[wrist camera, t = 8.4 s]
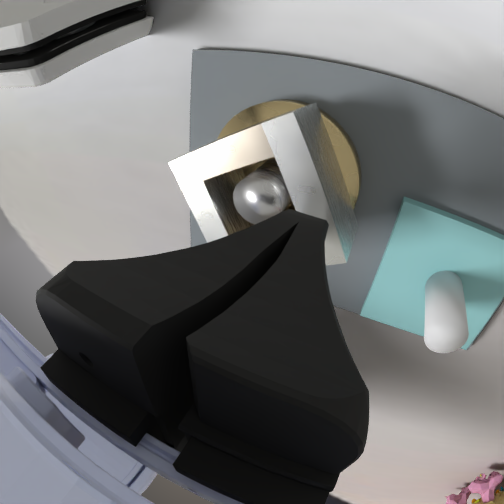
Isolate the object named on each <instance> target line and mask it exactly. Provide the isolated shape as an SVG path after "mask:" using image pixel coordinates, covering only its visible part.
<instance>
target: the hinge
mask: <svg viewBox="0 0 504 504" xmlns="http://www.w3.org/2000/svg"><path fill="white" fill-rule="evenodd" d="M145 4H146V0H0V88H23V87H36V86H41V85H43V84H46V83H49V82H51V81H52V80H54V79H56V78H58V77H59V76H61V75H63V74H65V73H67V72H68V71H70V70H72V69H74V68H76V67H78V66H80V65H82V64H84V63H86V62H88V61H90V60H92V59H94V58H96V57H98V56H100V55H102V54H104V53H106V52H109V51H111V50H113V49H115V48H118V47H120V46H122V45H125V44H127V43H129V42H132V41H134V40H137V39H139V38H142V37H145V36H147V35H148V34H149V32H150V30H151V28H152V23H153V18H154V17H150V16H146V11H140V10H132V8H135V7H138V6H141V5H145Z"/></svg>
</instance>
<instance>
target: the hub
mask: <svg viewBox="0 0 504 504" xmlns="http://www.w3.org/2000/svg"><path fill="white" fill-rule="evenodd" d="M307 105H310V104H308V103H305V102H301V101H297V100H288V99H281V100H272V101H267V102H263V103H260V104H257V105H254V106H251V107H249V108H247V109H245V110H243V111H241V112H239V113H238V114H237V115H235V116H234V117H233V118H232V119H231V120H230V121H229V122H228V123H227V124H226V125H225V127H224V128H223V129H222V131H221V133H220V134H219V136H218V138H217V139H219V138H222V137H224V136H226V135H229V134H231V133H234V132H236V131H239V130H241V129H244V128H246V127H249V126H251V125H254V124H256V123H259V122H262V121H264V120H267V119H270V118H272V117H275V116H278V115H281V114H283V113H286V112H289V111H292V110H295V109H298V108H301V107H304V106H307ZM318 109H319V108H318ZM319 111H320V114H321V117H322V119H323V122H324V124H325V127H326V130H327V132H328V135H329V138H330V140H331V143H332V146H333V149H334V152H335V154H336V157H337V160H338V163H339V166H340V169H341V172H342V175H343V178H344V181H345V184H346V187H347V190H348V193H349V197H350V200H351V203H352V206H353V210H354V207H355V204H356V202H357V199H358V196H359V193H360V187H361V165H360V160H359V157H358V153H357V151H356V148H355V146H354V144H353V142H352V140H351V138H350V137H349V135H348V134H347V132H346V131H345V130H344V128H343V127H342V126H341V125H340V124H339V123H338V122H337V121H336V120H335V119H334V118H333V117H331V116H330V115H329V114H327V113H326V112H324V111H323V110H321V109H319ZM241 168H242V170H243V172H244V174H245V178H244V179H243V180H241V181H240V182H239V183H238V184H237V185H236V187H235V189H234V192H233V201H234V205H235V208H236V209H237V211H238V213H239V214H240V215H241V216H242V217H243V218H244V219H245V220H246V221H248V222H250V223H252V224H257V223H259V222H262V221H264V220H266V219H268V218H270V217H272V216H275V215H277V214H279V213H281V212H283V211H285V210H288V209H291V210H294V211H296V210H295V207H294V204H293V202H292V199H291V197H290V194H289V192H288V189H287V186H286V184H285V181H284V179H283V176H282V174H281V171H280V169H279V166H278V164H277V161H276V159H275V157H271V158H268V159H265V160H262V161H259V162H256V163H253V164H250V165H247V166H244V167H241Z"/></svg>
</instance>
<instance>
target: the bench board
mask: <svg viewBox="0 0 504 504" xmlns="http://www.w3.org/2000/svg"><path fill="white" fill-rule="evenodd" d="M281 99H288V100H297V101H301V102H305V103H308V104H313V103H316V104H317V106H318V108H319V109H321V110H323V111H324V112H326V113H327V114H329V115H330V116H331V117H333V118H334V119H335V120H336V121H337V122H338V123H339V124H340V125H341V126H342V127H343V128H344V130H345V131H346V132H347V134H348V135H349V137H350V138H351V140H352V142H353V144H354V146H355V148H356V151H357V153H358V157H359V160H360V165H361V187H360V193H359V196H358V199H357V202H356V204H355V207H354V213H355V216H356V220H357V223H358V228H357V232H356V235H355V238H354V241H353V245H352V248H351V251H350V254H349V257H348V260H347V263H343V264H335V265H327V266H326V272H327V279H328V285H329V290H330V295H331V299H332V303H333V306H336V307H339V308H342V309H345V310H348V311H351V312H354V313H357V314H359V315H360V313H361V309H362V307H363V304H364V302H365V300H366V297H367V295H368V293H369V290H370V288H371V285H372V283H373V280H374V278H375V275H376V273H377V270H378V268H379V265H380V263H381V260H382V257H383V255H384V252H385V250H386V247H387V244H388V241H389V239H390V236H391V233H392V230H393V227H394V224H395V222H396V219H397V216H398V213H399V210H400V207H401V204H402V200H403V197H407V198H410V199H413V200H416V201H419V202H422V203H424V204H427V205H430V206H433V207H435V208H438V209H441V210H443V211H446V212H449V213H451V214H454V215H457V216H459V217H462V218H464V219H467V220H469V221H472V222H474V223H477V224H479V225H481V226H484V227H486V228H488V229H491V230H493V231H495V232H498V233H500V234H502V235H504V118H502V117H500V116H498V115H496V114H494V113H491V112H489V111H487V110H485V109H482V108H480V107H478V106H476V105H473V104H471V103H468V102H466V101H463V100H461V99H458V98H456V97H453V96H451V95H448V94H445V93H443V92H440V91H437V90H434V89H431V88H428V87H425V86H422V85H419V84H416V83H413V82H410V81H406V80H403V79H400V78H396V77H393V76H389V75H385V74H381V73H378V72H374V71H370V70H365V69H361V68H357V67H352V66H348V65H343V64H338V63H333V62H327V61H322V60H316V59H309V58H303V57H296V56H288V55H280V54H271V53H261V52H248V51H232V50H193V53H192V73H191V100H190V152H191V151H193V150H195V149H197V148H199V147H201V146H203V145H205V144H208V143H210V142H212V141H215V140H217V138H218V136H219V134H220V133H221V131H222V129H223V128H224V127H225V125H226V124H227V123H228V122H229V121H230V120H231V119H232V118H233V117H234V116H235V115H237V114H238V113H239V112H241V111H243V110H245V109H247V108H249V107H251V106H254V105H257V104H260V103H263V102H267V101H272V100H281ZM190 229H191V247H194V246H197V245H201V244H204V243H207V241H206V239H205V237H204V235H203V233H202V231H201V229H200V227H199V225H198V223H197V221H196V219H195V217H194V215H193V213H192V210H191V208H190ZM503 300H504V297H503V299H502V300H501V302H500V304H499V305H498V307H497V308H496V310H495V311H494V313H493V314H492V315H491V317H490V318H489V320H488V321H487V323H486V324H485V325H484V327H483V328H482V330H481V331H480V332H479V334H478V335H477V336H476V338H475V339H474V340H473V342H472V343H471V344H470V346H469V347H468V348H467V350H468V349H469V348H470V347H471V345H472V344H473V343H474V341H475V340H476V339H477V337H478V336H479V335H480V333H481V332H482V331H483V329H484V328H485V326H486V325H487V324H488V322H489V321H490V319H491V318H492V317H493V315H494V314H495V312H496V311H497V309H498V308H499V306H500V305H501V303H502V302H503Z"/></svg>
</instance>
